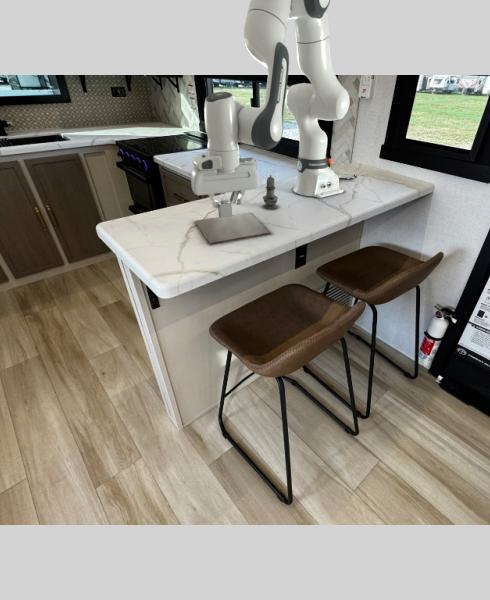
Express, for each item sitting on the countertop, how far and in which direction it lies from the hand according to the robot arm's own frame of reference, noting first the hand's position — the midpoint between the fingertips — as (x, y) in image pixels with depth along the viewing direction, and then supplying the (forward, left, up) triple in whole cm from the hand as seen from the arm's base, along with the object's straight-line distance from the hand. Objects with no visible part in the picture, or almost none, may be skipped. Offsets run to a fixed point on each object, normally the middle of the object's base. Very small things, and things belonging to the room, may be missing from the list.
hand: (227, 205), depth 100 cm
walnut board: (-1, 0, -8) cm, 8 cm away
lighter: (-1, 0, -4) cm, 4 cm away
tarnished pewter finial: (-21, -13, -8) cm, 26 cm away
